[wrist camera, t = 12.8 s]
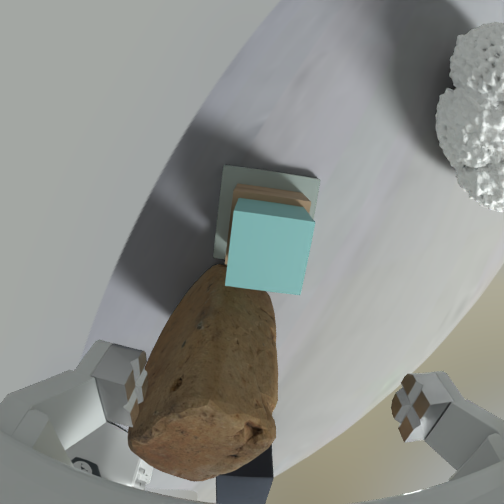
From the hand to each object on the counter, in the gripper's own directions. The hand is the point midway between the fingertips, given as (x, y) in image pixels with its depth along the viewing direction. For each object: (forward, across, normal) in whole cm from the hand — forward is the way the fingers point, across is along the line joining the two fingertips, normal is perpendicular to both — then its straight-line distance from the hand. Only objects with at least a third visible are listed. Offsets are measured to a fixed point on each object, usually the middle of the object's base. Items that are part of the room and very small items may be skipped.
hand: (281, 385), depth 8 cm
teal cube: (+16, 0, 0) cm, 17 cm away
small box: (+23, +2, -33) cm, 40 cm away
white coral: (+23, +23, +16) cm, 36 cm away
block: (+23, -3, -10) cm, 25 cm away
